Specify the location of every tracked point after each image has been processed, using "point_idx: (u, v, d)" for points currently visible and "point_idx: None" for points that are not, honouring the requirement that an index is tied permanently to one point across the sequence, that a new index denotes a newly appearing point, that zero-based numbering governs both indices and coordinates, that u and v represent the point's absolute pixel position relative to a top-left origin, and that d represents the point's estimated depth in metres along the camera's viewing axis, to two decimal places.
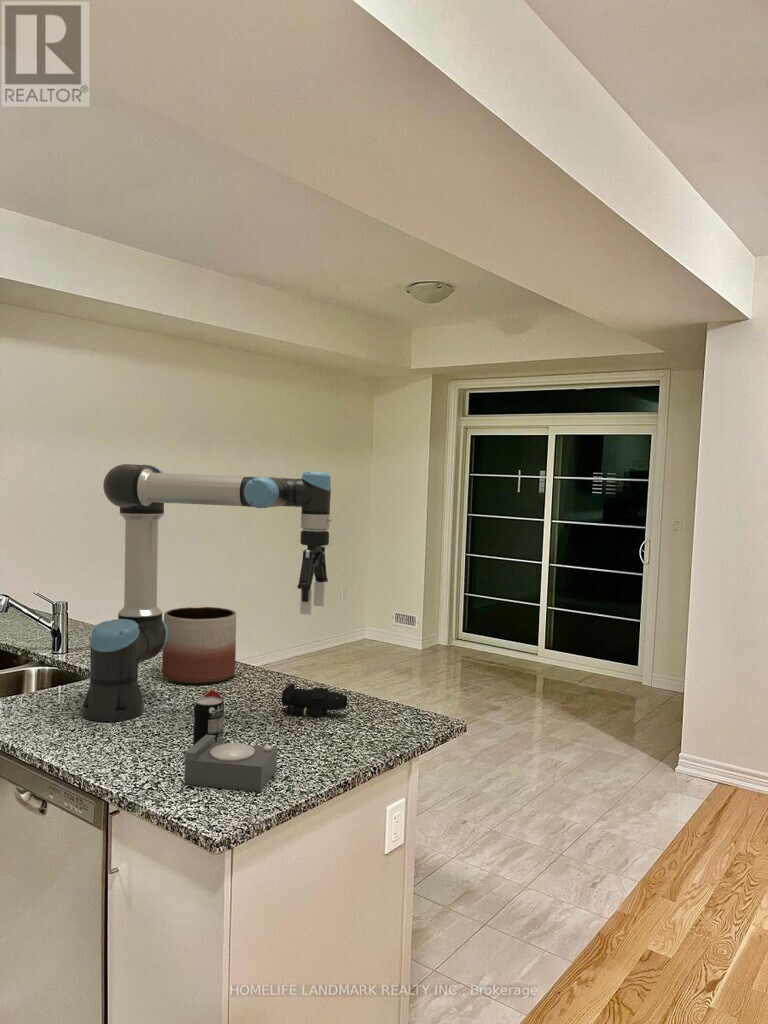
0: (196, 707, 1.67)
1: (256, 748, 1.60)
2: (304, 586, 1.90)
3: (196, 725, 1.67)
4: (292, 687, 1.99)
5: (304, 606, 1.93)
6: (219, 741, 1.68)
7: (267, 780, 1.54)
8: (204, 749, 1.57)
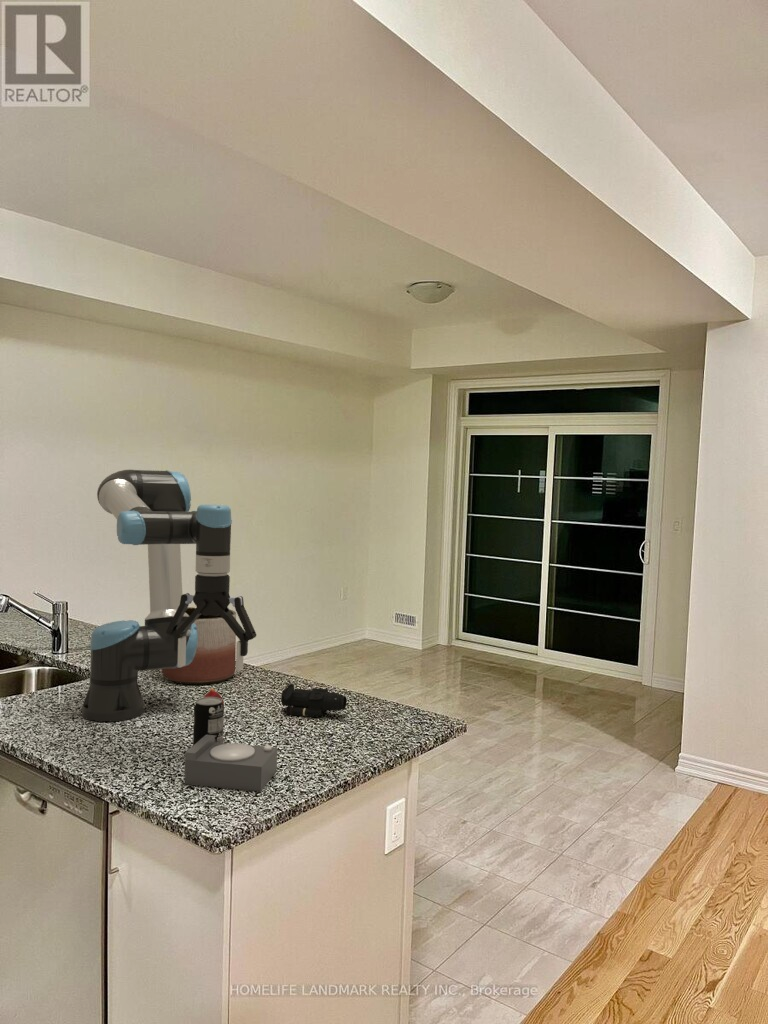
0: (196, 707, 1.67)
1: (256, 748, 1.60)
2: None
3: (196, 725, 1.67)
4: (291, 688, 1.99)
5: None
6: (219, 741, 1.68)
7: (267, 780, 1.54)
8: (204, 749, 1.57)
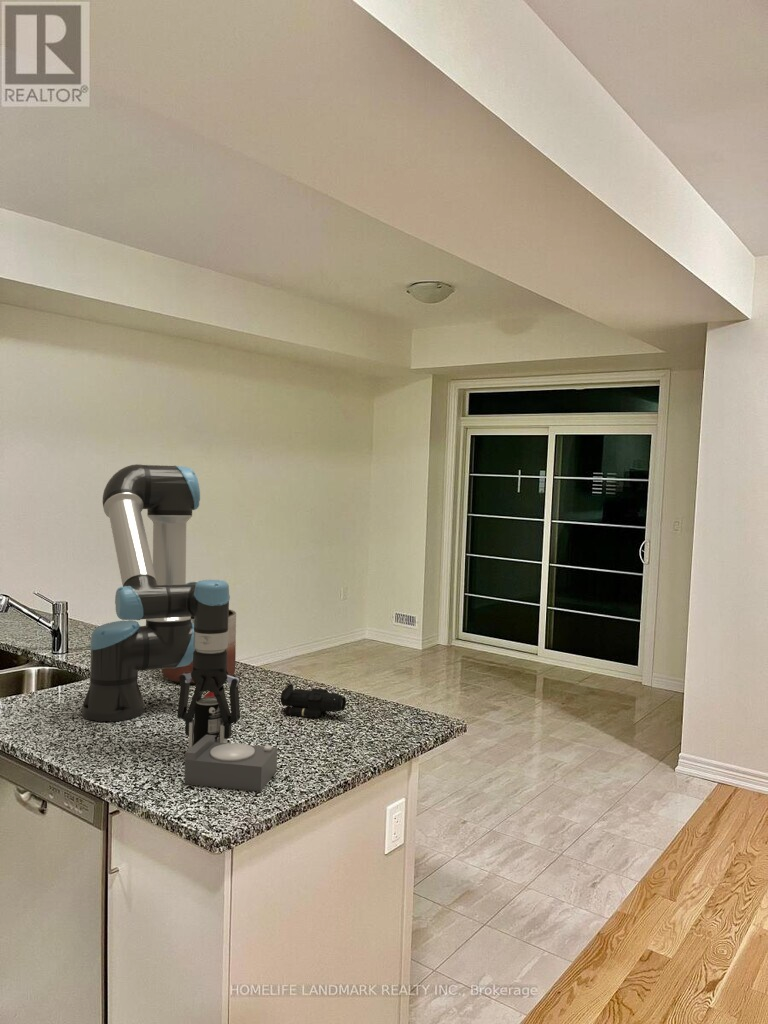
0: (196, 707, 1.67)
1: (256, 748, 1.60)
2: None
3: (196, 725, 1.67)
4: (290, 688, 1.99)
5: None
6: (219, 741, 1.68)
7: (267, 780, 1.54)
8: (204, 749, 1.57)
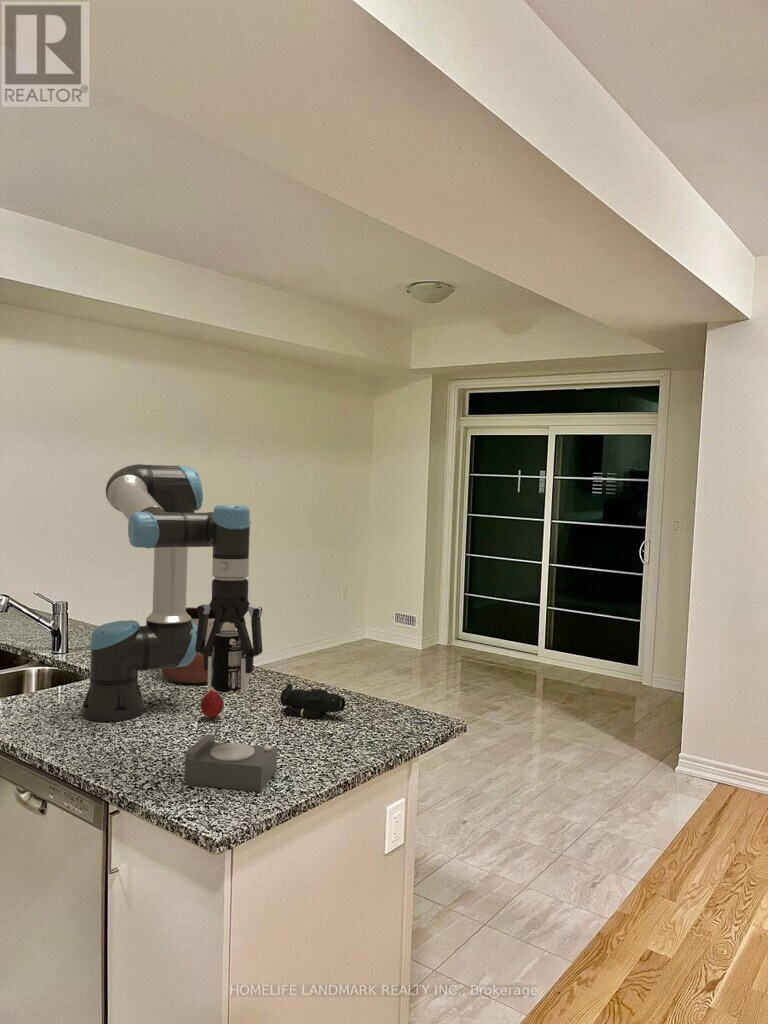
0: (215, 639, 1.57)
1: (256, 748, 1.60)
2: None
3: (215, 658, 1.56)
4: (290, 688, 1.99)
5: None
6: (240, 675, 1.57)
7: (267, 780, 1.54)
8: (204, 749, 1.57)
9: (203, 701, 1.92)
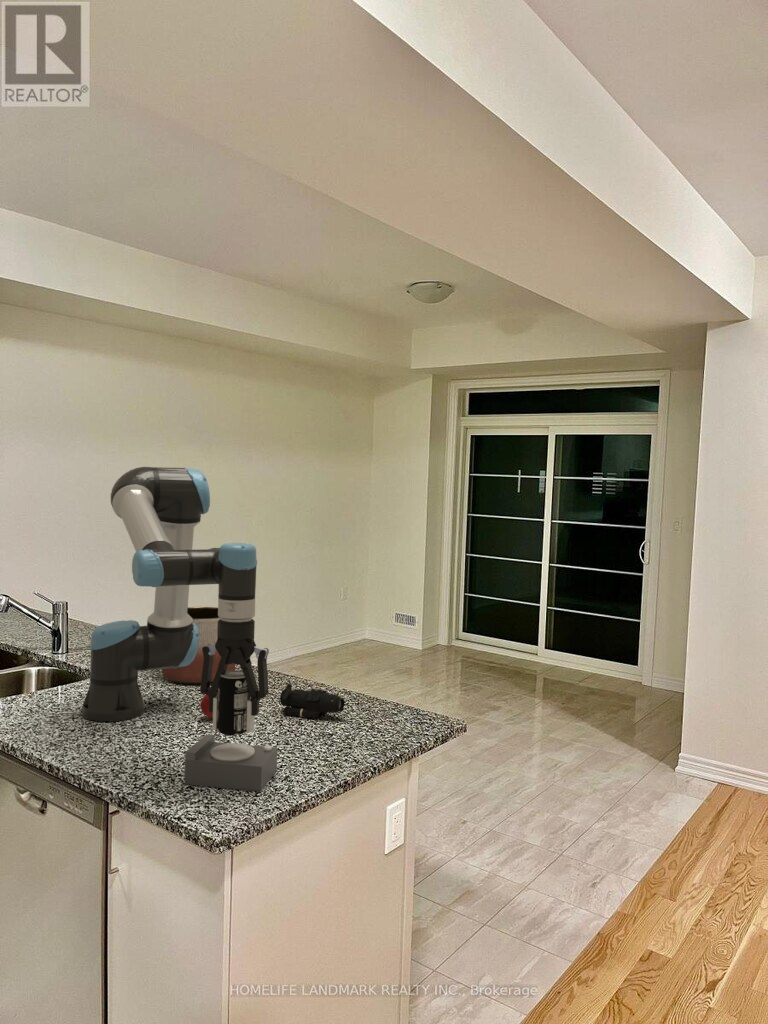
0: (221, 681, 1.54)
1: (256, 748, 1.60)
2: None
3: (221, 700, 1.53)
4: (289, 688, 1.98)
5: None
6: (246, 718, 1.54)
7: (267, 780, 1.54)
8: (204, 749, 1.57)
9: (203, 701, 1.92)
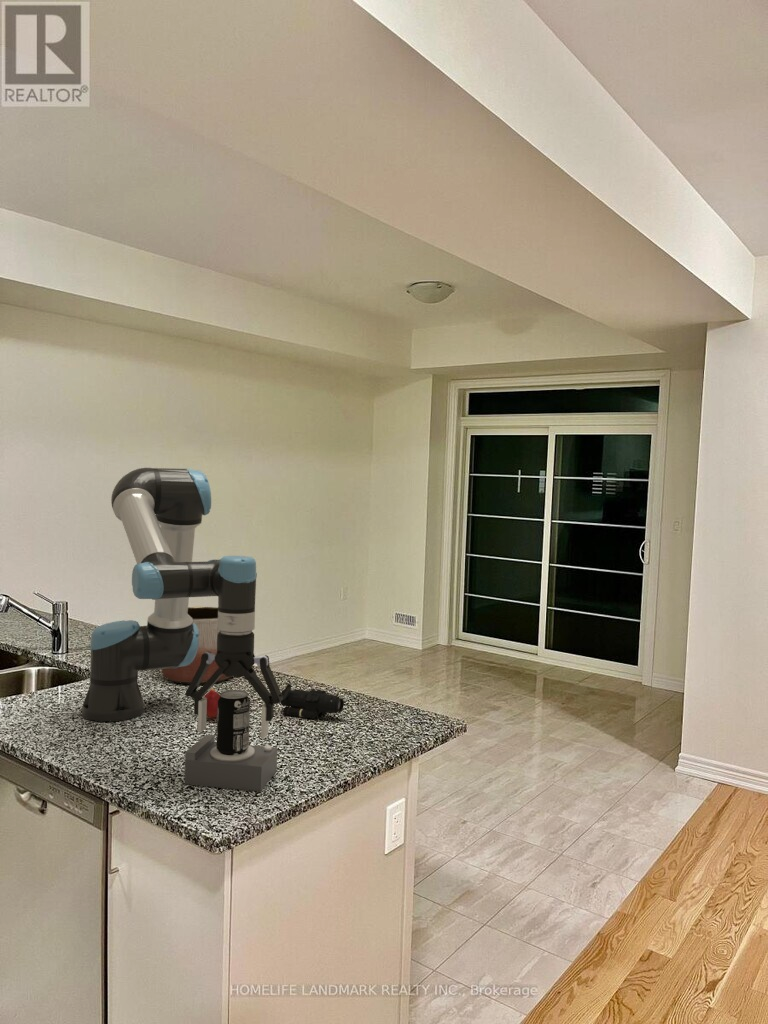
0: (220, 701, 1.54)
1: (256, 748, 1.60)
2: None
3: (220, 720, 1.53)
4: (289, 688, 1.98)
5: None
6: (245, 738, 1.55)
7: (267, 780, 1.54)
8: (204, 749, 1.57)
9: None
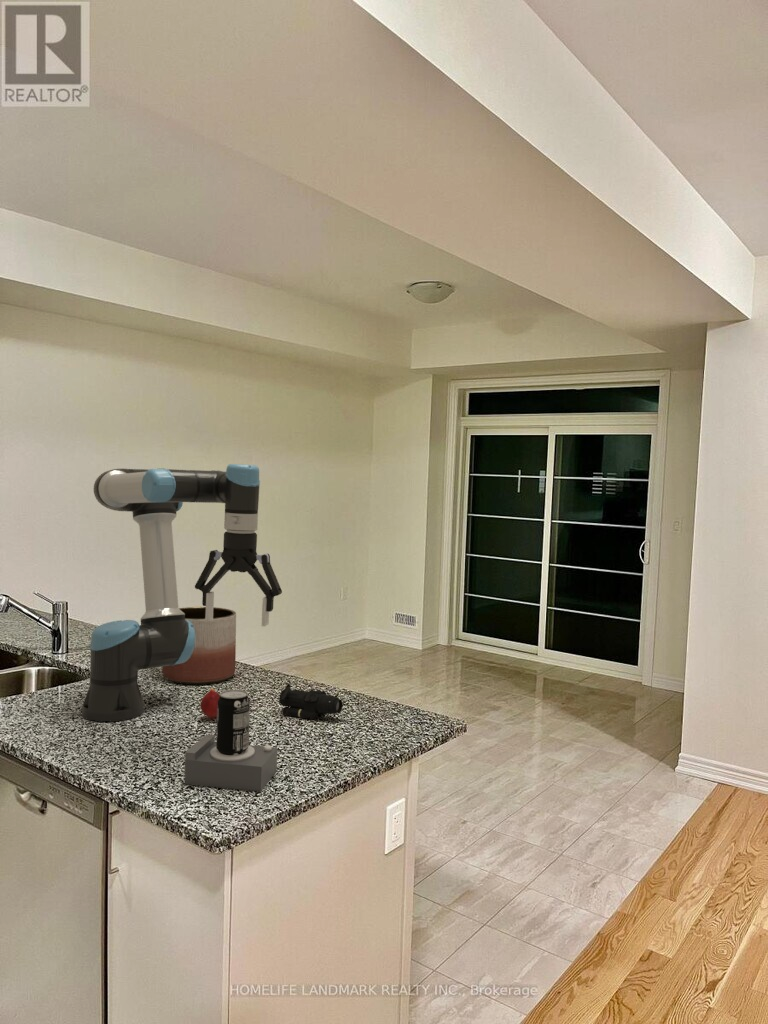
0: (220, 701, 1.54)
1: (256, 748, 1.60)
2: None
3: (220, 720, 1.53)
4: (288, 688, 1.98)
5: None
6: (245, 738, 1.55)
7: (267, 780, 1.54)
8: (204, 749, 1.57)
9: (203, 701, 1.92)
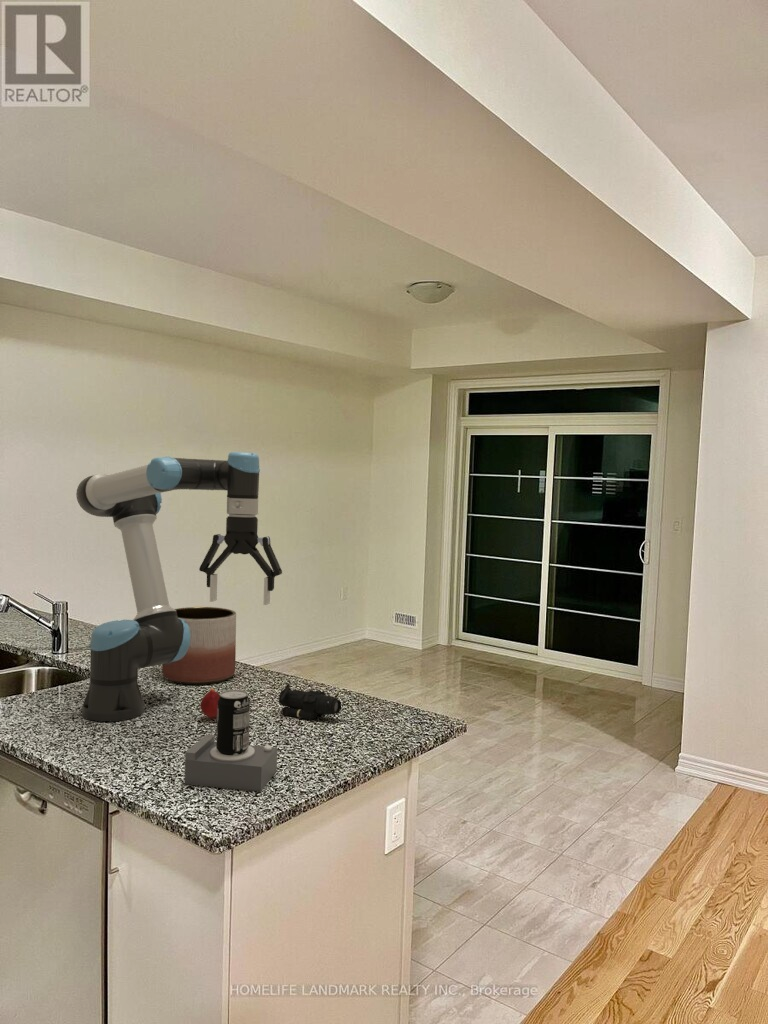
0: (220, 701, 1.54)
1: (256, 748, 1.60)
2: None
3: (220, 720, 1.53)
4: (287, 688, 1.98)
5: None
6: (245, 738, 1.55)
7: (267, 780, 1.54)
8: (204, 749, 1.57)
9: (203, 701, 1.92)
